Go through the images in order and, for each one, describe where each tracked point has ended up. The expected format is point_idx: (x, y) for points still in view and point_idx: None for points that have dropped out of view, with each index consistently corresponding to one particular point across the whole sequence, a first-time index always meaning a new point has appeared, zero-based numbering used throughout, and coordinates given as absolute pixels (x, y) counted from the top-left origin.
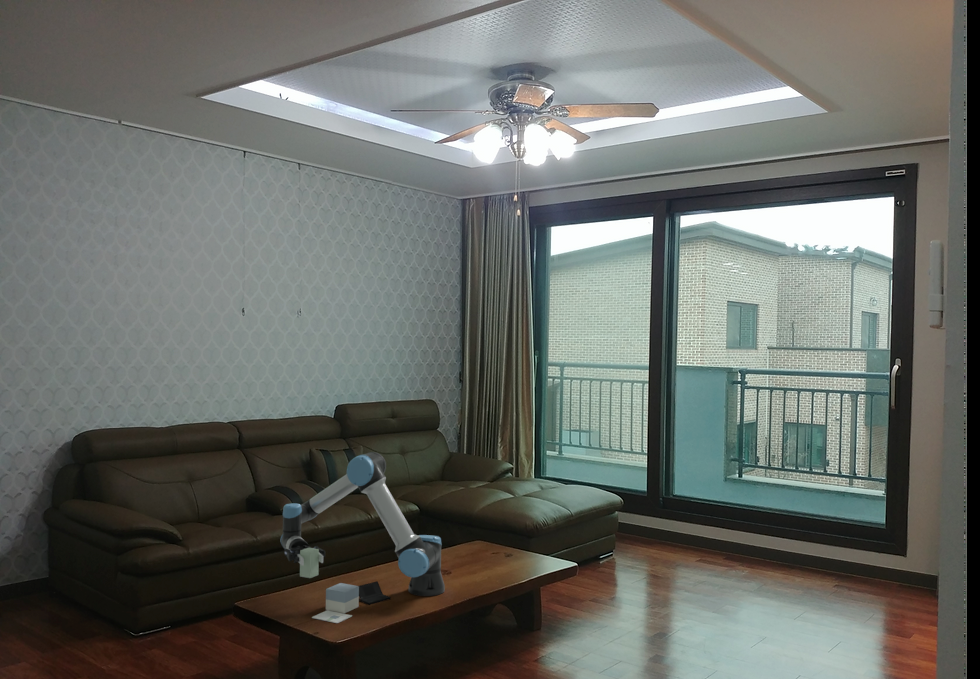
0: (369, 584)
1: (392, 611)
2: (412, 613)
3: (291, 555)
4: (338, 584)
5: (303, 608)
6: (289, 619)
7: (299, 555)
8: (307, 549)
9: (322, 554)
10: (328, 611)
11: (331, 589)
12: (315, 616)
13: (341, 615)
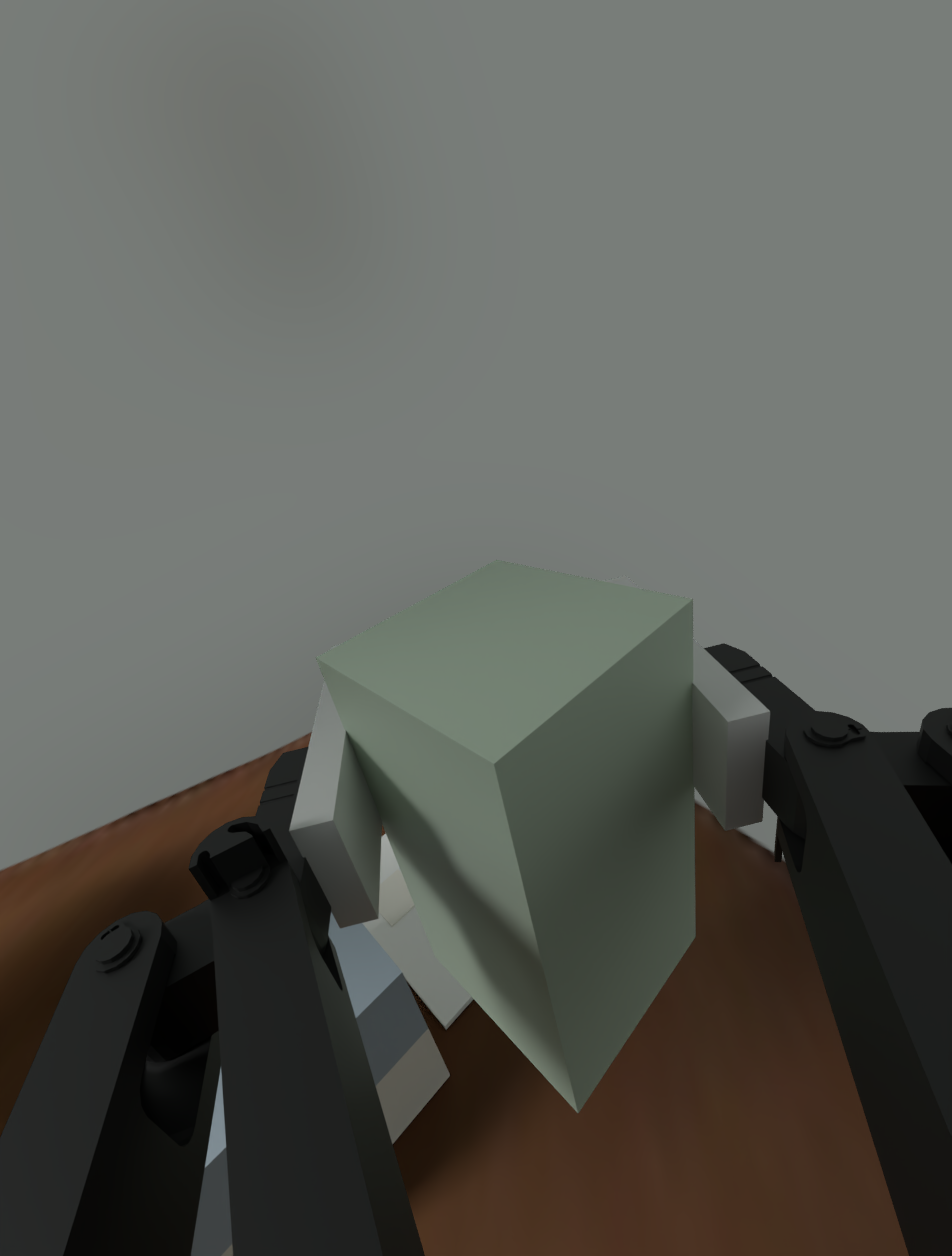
0: None
1: (93, 927)
2: (49, 878)
3: (925, 727)
4: (213, 1136)
5: (661, 1193)
6: (721, 891)
7: (698, 662)
8: (536, 640)
9: (266, 800)
10: (440, 991)
11: (360, 940)
12: None
13: (383, 884)
